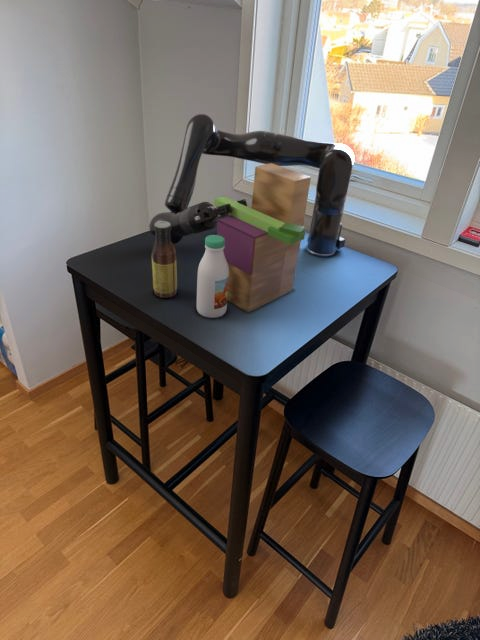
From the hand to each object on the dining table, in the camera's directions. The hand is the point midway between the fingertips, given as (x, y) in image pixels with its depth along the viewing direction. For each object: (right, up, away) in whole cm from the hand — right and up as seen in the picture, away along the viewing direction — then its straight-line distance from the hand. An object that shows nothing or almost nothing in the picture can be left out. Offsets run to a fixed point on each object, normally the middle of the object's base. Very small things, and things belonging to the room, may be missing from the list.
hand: (237, 205), depth 117 cm
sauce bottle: (-20, -22, +8) cm, 30 cm away
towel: (+3, -13, +4) cm, 14 cm away
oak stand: (+4, -21, +12) cm, 24 cm away
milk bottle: (-7, -26, +3) cm, 27 cm away
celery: (+5, -5, -2) cm, 7 cm away
